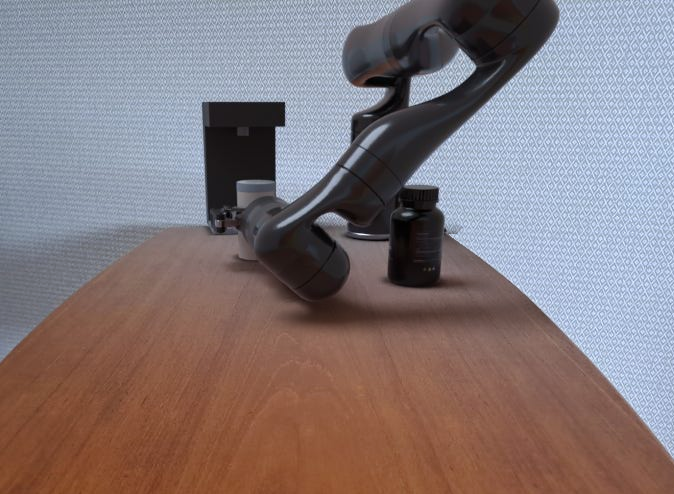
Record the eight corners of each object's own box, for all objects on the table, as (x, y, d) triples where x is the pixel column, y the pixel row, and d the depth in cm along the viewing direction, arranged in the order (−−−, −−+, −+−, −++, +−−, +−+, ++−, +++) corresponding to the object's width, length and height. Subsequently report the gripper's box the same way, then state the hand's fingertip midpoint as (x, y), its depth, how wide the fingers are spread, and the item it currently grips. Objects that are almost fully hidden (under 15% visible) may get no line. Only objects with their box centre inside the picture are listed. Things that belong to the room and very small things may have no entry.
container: (278, 253, 105) (277, 180, 101) (272, 261, 99) (271, 184, 96) (242, 252, 105) (240, 179, 101) (234, 259, 100) (232, 183, 96)
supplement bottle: (376, 277, 90) (381, 184, 86) (419, 272, 92) (425, 182, 88) (406, 289, 84) (412, 190, 80) (450, 284, 87) (459, 188, 82)
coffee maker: (285, 232, 122) (285, 101, 114) (213, 234, 120) (208, 101, 112) (272, 220, 134) (271, 102, 126) (206, 222, 132) (201, 102, 124)
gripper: (220, 260, 87) (208, 238, 102) (327, 256, 89) (300, 234, 104) (217, 201, 84) (206, 186, 99) (328, 198, 87) (300, 184, 102)
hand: (254, 211), depth 102 cm, fingers open, 8 cm apart
